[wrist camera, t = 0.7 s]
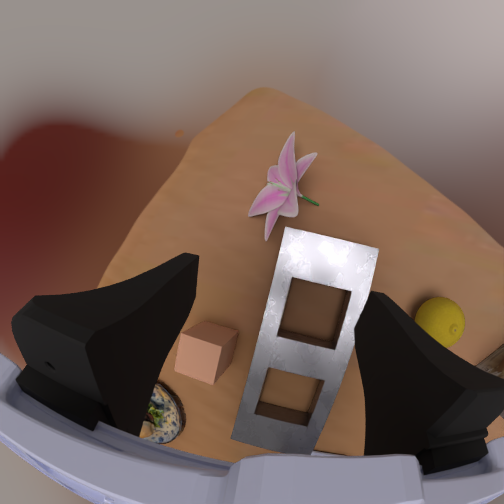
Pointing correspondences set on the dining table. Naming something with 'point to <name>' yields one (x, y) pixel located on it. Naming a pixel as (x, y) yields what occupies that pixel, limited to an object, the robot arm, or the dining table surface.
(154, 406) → the burger
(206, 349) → the peg
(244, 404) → the grey slotted board
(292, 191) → the lily
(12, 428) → the robot arm
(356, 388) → the dining table surface
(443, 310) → the lemon
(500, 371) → the coffee box
